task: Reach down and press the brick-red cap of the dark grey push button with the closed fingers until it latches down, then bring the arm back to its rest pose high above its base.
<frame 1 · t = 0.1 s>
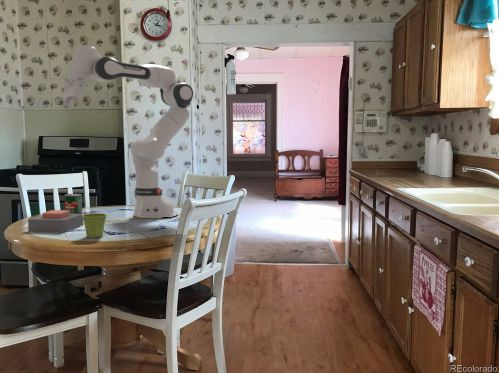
hand: (67, 108, 201), 52 cm above the table, tool tilted 20°, fingers open, 8 cm apart
button housing: (56, 227, 192), on the table
plant pot: (94, 237, 177), on the table
canned tomato: (73, 217, 221), on the table
button: (56, 216, 192), point 5 cm above the table, slide at 0.0 cm
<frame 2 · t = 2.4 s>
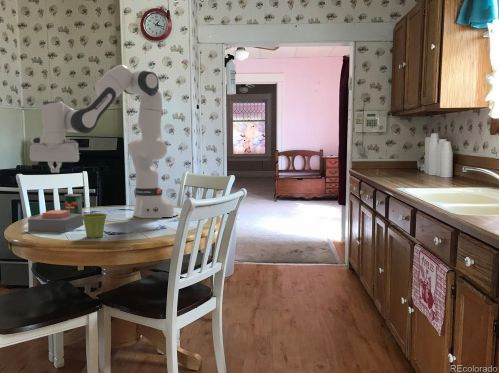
hand: (55, 172, 190), 24 cm above the table, tool pointing down, fingers closed
nothing on the table moved.
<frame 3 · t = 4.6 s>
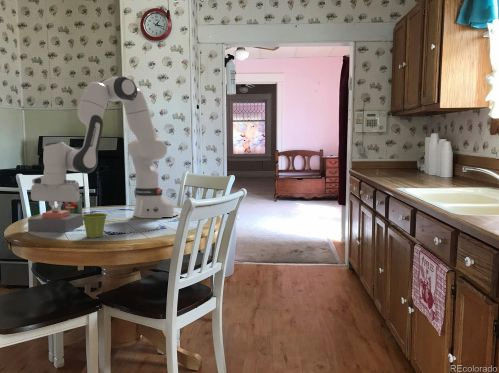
hand: (55, 211, 192), 7 cm above the table, tool pointing down, fingers closed, pressing on button
button: (56, 216, 192), point 5 cm above the table, slide at 0.0 cm, touching gripper
everything else where it was.
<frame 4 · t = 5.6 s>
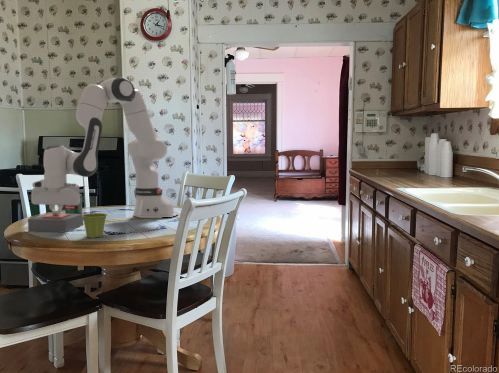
hand: (56, 215, 192), 6 cm above the table, tool pointing down, fingers closed
button: (56, 220, 192), point 3 cm above the table, slide at 1.5 cm
everything else where it was.
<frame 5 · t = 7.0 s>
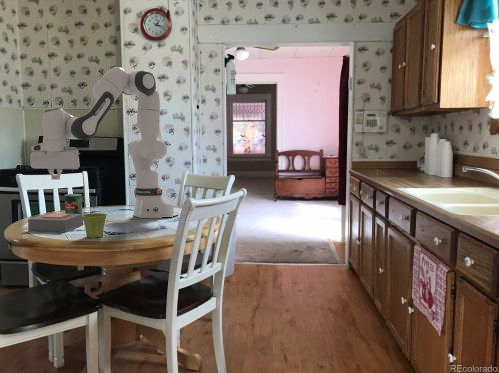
hand: (55, 179, 191), 21 cm above the table, tool pointing down, fingers closed
nothing on the table moved.
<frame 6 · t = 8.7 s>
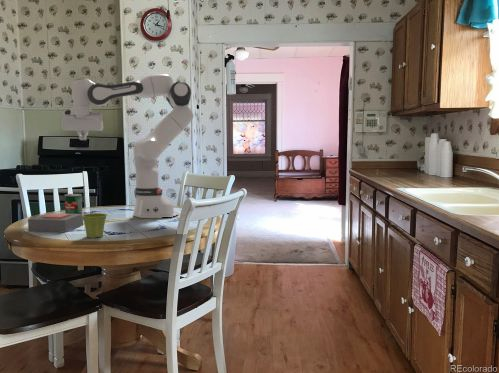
hand: (82, 139, 224), 38 cm above the table, tool pointing down, fingers closed
nothing on the table moved.
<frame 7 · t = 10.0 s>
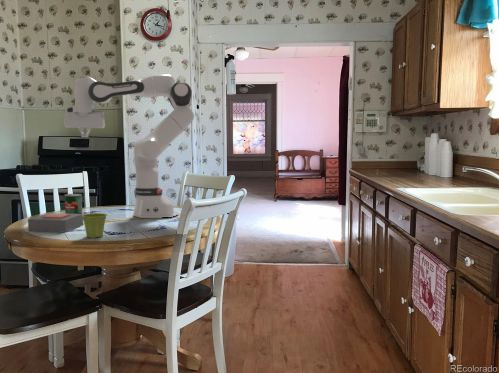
hand: (84, 137, 226), 39 cm above the table, tool pointing down, fingers closed
nothing on the table moved.
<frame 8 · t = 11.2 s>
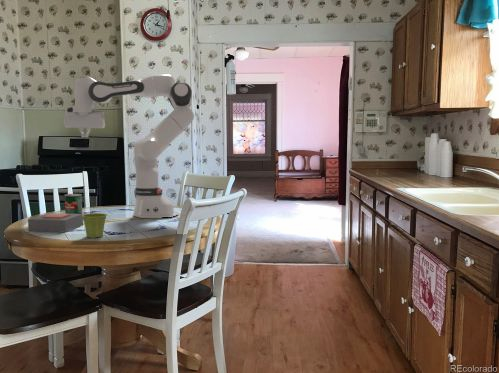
hand: (84, 137, 226), 39 cm above the table, tool pointing down, fingers closed
nothing on the table moved.
at the end: button slide at 1.5 cm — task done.
